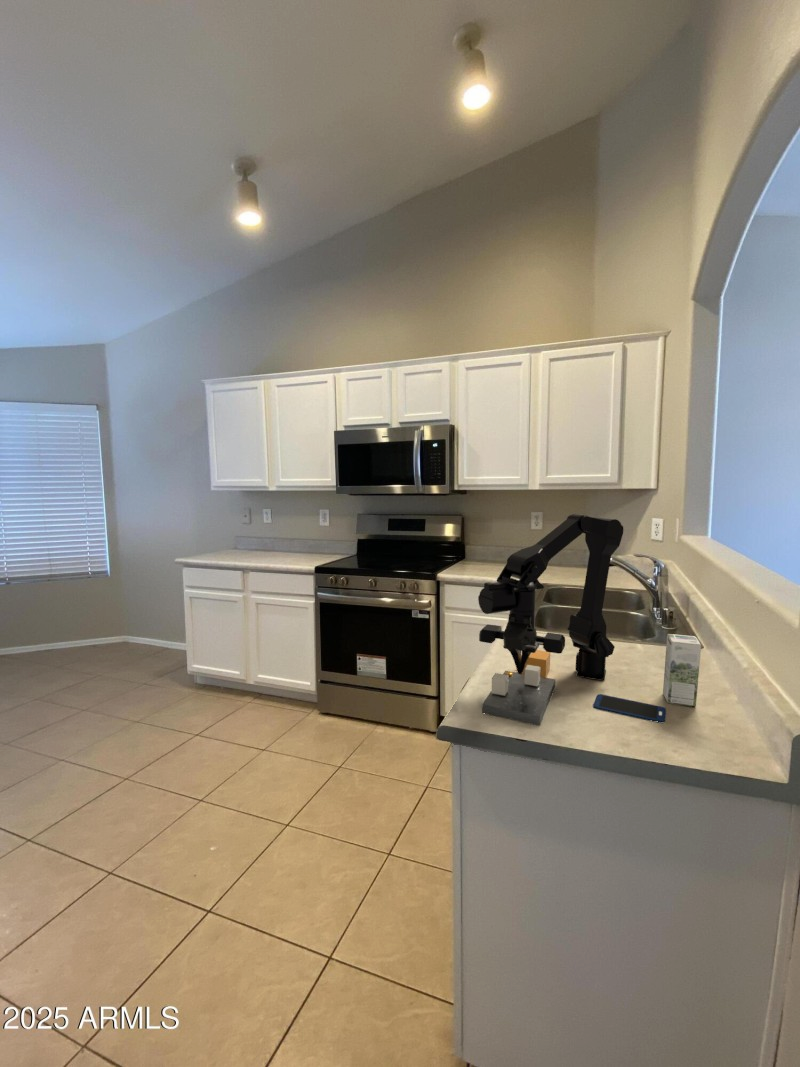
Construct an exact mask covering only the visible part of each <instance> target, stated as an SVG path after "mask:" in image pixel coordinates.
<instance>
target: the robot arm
mask: <svg viewBox="0 0 800 1067" xmlns="http://www.w3.org/2000/svg"><path fill="white" fill-rule="evenodd" d="M582 534H585V535H584V537H585V538H584V539H585V540H584V541H585V543H586V547H587V549H588V553H589V554H588V561H587V567H586V573H585V574H586V575H585V579H584V585H583V591H582V599H581V604H580V609H579V610H578V611H577V613H575V614H571V615H570V616H569V625H568V627H567V631H568V636H569V638H570V640H571V642H572V646H573V647H575V648H578V652H577V653H576V655H575V671H576V676H577V677H581V678H586V679H587V678H588V679H592V680H597V681H605V679H606V674H607V669H606V664H607V658H608V657H609V656H612V655H613V653H614V651H615V645H614V644H613V643H612V641H611V640H610V639H609V638H608V637H607V623H606V620H605V619H604V616H603V607H604V601H605V596H606V595H605V594H606V590H607V583H608V577H609V570H610V565H611V558H612V556H613V554H614V553H615V551H617V550H618V548H619V547H620V545H621V542H622V539H623V534H624V526H623V525H622V522H620V520H619V519H616V518H609V517H608V518H606V517H597V516H596V517H592V516H589V515H587V514H580V513H572V514H569V515H568V516H567V518H566V519H565V520H564V521H563V522H562V523H560V524H559V525H558V526H556V527H555V528H554V529H553V530H552V531H550V532H549V533H548V534H547V535H545V536H544V537H542V538H541V539H540V540H539V541H538V542H537V543H535V544H533V545H532V546H531V545H530V546H528V547H525V548H521V549H520V550H517V551H516V552H514V553H512V554H511V555H510V556H509V557H508V558H507V560H506V564H505V565H504V568H503V569H502V570H501V572H500V573H499V575H498V577H497V578H496V582H491V581H490V582H484V583H483V588H482V589H481V590H480V591H479V595H478V598H477V599H478V600H477V601H478V605H479V608H480V610H481V611H482V613H483V614H485V615H489V614H491V615H492V614H496V613H504V612H509V614H508V621H507V623H506V626H505V629H504V630H503V628H502V625H495V624H486V625H485V626H483V627H482V629H480V631H479V633H478V634H479V636H478V641H479V642H480V643H481V642H482V643H486V644H492V643H494V642H495V641H496V639H498V640H503V645H502V646H503V649H505V650H507V651H509V653H510V654H511V656H512V660H513V661H514V666H515V668H516V671H517V673H518V674H522V673H523V671H524V668H525V665H526V663H527V660H528V658H529V656H530V654H531V653H535V652H536V650H539V647H540V646H542V649H544V651H546V652H550V654H551V653H553V654H562V653H563V650H564V649H565V647H566V637H565V636H564V634H561V633H556V632H555V633H554V632H547V633H546V634H545V636H540V635H538V632H537V629H536V626H535V624H536V599H537V598H536V592H537V590H543V589H544V588H545V586H544V584H542V583H541V582H540V580H538V579H539V578H540V577H541V576H542V575H543V574H544V572H545V571H546V570H547V568H548V565H549V562H550V561H551V560H552V559H553V558H555V556H557V555H558V554H559V553H560V552H561V551H562V550H565V548H566V547H567V546H569V545H570V544H571V543H572V542H573V541H575V540H576V539H577V538H578V537H580V536H581V535H582ZM521 655H522V657H521Z"/></svg>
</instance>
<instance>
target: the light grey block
mask: <svg viewBox="0 0 800 1067" xmlns="http://www.w3.org/2000/svg"><path fill="white" fill-rule="evenodd" d="M540 669H541V667H538V666H532V665H527V666H526V668H525V679H524V684H528V685H533V686H538V685H539V683H540Z"/></svg>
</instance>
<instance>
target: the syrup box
mask: <svg viewBox="0 0 800 1067" xmlns="http://www.w3.org/2000/svg"><path fill="white" fill-rule="evenodd" d="M701 653H702V645H701V643H700V641H699V639H698V638H697V637H696V636H694V635H686V634H685V635H684V634H672V633H667V634H666V646H665V662H664V675H663V689H662V692H663V696H664V697H665V698H664V699H665V700H666V703H667V704H670V703H671V705H677V704H680V705H679V706H684V705H688V706H687V707H692V706H696V707H697V701H698V700H697V698H698V688H699V687H698V686H699V676H700V666H701V665H700V664H701V663H700V662H701Z"/></svg>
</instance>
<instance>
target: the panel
mask: <svg viewBox="0 0 800 1067" xmlns="http://www.w3.org/2000/svg"><path fill="white" fill-rule="evenodd" d="M502 674H504V675H509V682H508V692H507V693H506V695H505V696H504V695H499V694H494V693H491V692H492V690H491V691H490V692H489V693H488V695H487V697H486V698H485V699H484V701H483V702H482V703H481V714H483V713H485V714H484V715H488V714H489V715H488V716H492V715H493V717H497V716H498V718H502V719H507V720H511V721H517V722H521V723H526V724H531V725H535V726H541V723H542V721H543V719H544V717H545V715H546V711H547V709H548V707H549V704H550V702H551V700H552V696H553V694H554V692H555V689H556V678H550V677H546V678H545V677H540V683H539V685H538V686H533V685H528V684H524V679H525V674H518V672H515V671H509V670H505V671H504V672H503V673H502Z"/></svg>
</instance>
